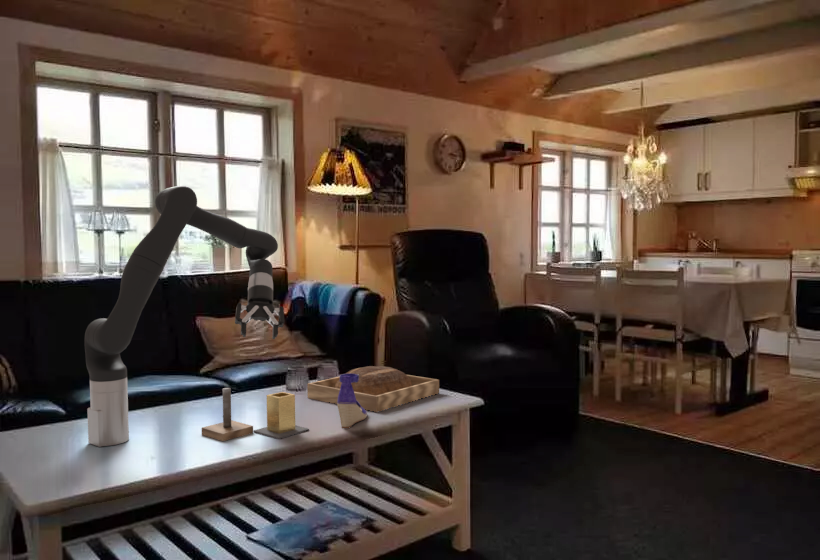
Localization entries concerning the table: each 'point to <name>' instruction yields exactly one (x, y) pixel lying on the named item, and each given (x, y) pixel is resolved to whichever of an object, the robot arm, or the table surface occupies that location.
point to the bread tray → (380, 402)
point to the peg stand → (227, 423)
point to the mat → (281, 435)
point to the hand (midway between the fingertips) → (259, 336)
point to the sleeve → (280, 412)
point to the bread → (378, 380)
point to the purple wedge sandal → (349, 402)
